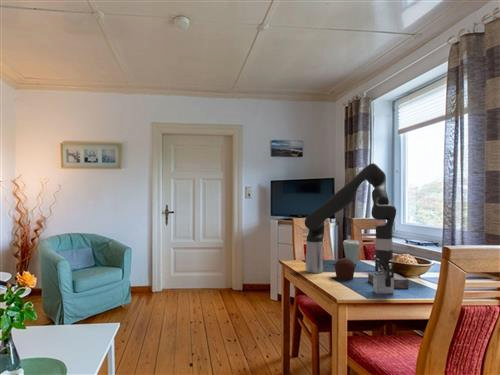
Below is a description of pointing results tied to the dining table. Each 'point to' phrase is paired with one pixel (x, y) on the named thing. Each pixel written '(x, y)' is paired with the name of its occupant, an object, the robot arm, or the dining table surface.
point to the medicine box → (381, 283)
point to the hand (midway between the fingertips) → (384, 284)
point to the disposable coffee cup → (351, 250)
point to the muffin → (344, 269)
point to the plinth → (398, 280)
